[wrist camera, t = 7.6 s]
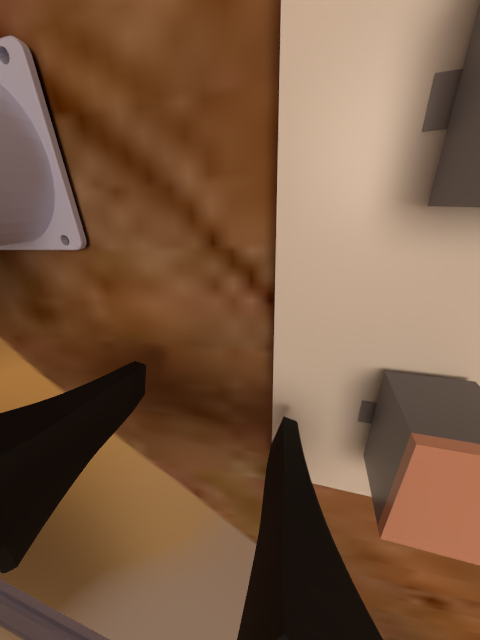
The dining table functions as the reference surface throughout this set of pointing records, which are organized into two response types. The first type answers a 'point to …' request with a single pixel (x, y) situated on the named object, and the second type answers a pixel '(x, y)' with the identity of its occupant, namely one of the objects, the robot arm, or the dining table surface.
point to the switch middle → (462, 138)
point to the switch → (427, 464)
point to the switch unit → (367, 219)
